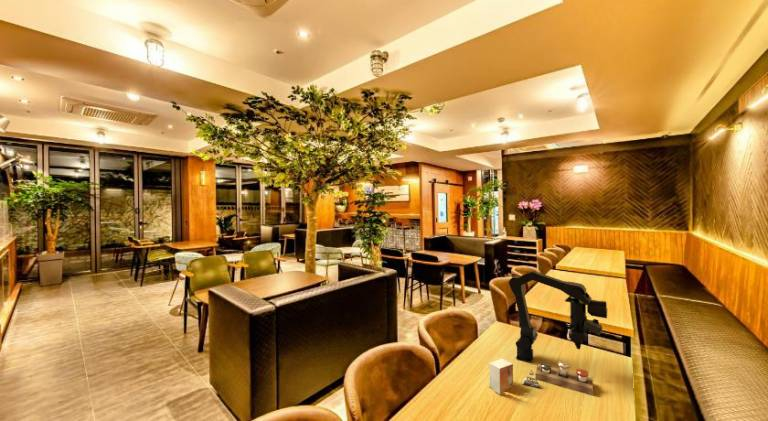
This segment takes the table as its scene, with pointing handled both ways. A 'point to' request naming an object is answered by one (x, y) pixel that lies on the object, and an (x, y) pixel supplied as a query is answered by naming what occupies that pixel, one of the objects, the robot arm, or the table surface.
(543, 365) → the grey plug
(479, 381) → the table surface
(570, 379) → the socket board
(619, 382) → the table surface
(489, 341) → the table surface
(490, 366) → the small box
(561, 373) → the cream plug
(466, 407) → the table surface
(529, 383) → the house of cards
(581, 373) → the red plug
